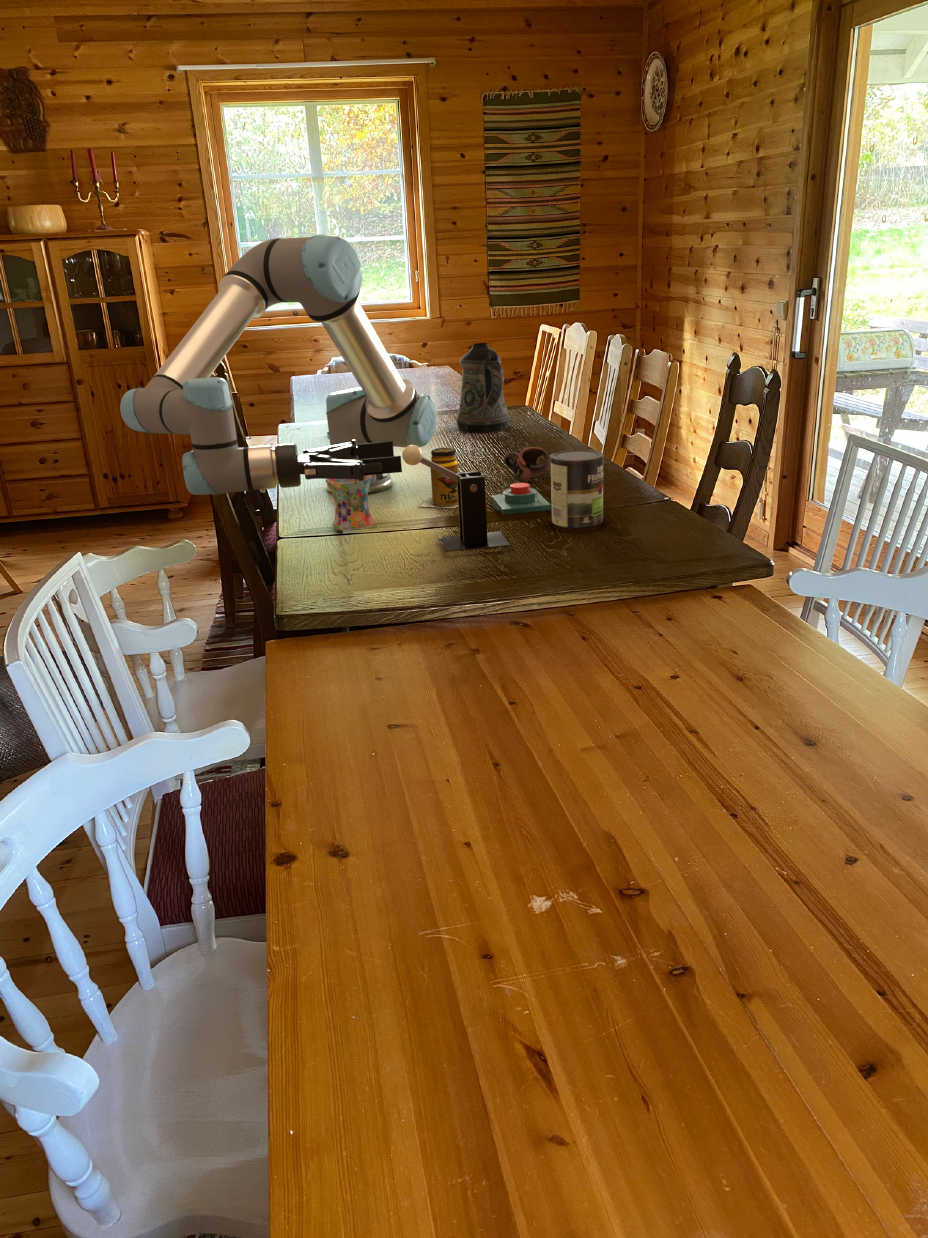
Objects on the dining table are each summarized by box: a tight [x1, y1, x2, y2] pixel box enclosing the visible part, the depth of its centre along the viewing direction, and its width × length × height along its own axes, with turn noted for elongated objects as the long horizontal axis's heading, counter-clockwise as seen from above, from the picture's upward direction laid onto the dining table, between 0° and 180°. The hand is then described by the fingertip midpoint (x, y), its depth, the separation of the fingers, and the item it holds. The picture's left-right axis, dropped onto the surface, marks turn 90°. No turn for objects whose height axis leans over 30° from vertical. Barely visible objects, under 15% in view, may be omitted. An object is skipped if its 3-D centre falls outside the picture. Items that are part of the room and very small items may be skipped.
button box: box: [491, 487, 552, 516], centre depth 192 cm, size 12×10×4 cm
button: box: [509, 482, 531, 494], centre depth 192 cm, size 4×4×2 cm
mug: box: [324, 475, 375, 532], centre depth 186 cm, size 12×9×11 cm
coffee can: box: [549, 448, 605, 529], centre depth 178 cm, size 10×10×14 cm
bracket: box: [438, 470, 511, 553], centre depth 169 cm, size 12×9×14 cm
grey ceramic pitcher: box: [455, 342, 511, 434], centre depth 276 cm, size 16×19×25 cm
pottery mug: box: [503, 446, 551, 483], centre depth 218 cm, size 12×10×8 cm
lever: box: [401, 445, 471, 482], centre depth 165 cm, size 15×4×4 cm
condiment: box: [419, 447, 459, 509], centre depth 199 cm, size 7×8×12 cm
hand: (397, 455), depth 163 cm, fingers open, 13 cm apart
